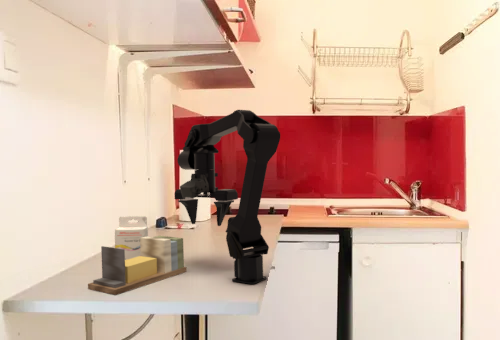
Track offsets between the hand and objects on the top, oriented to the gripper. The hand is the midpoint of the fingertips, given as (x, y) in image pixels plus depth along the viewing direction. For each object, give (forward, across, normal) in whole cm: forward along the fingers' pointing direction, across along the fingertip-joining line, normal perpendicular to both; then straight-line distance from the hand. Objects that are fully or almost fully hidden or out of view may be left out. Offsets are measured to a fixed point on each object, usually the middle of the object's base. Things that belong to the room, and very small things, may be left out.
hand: (206, 224), depth 124 cm
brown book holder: (+12, -7, -18) cm, 23 cm away
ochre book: (+11, -7, -20) cm, 24 cm away
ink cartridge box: (+12, -18, -11) cm, 25 cm away
